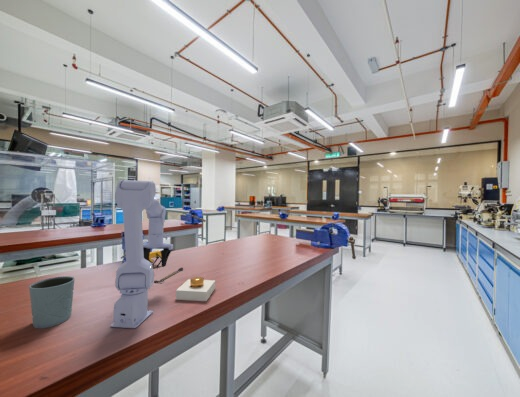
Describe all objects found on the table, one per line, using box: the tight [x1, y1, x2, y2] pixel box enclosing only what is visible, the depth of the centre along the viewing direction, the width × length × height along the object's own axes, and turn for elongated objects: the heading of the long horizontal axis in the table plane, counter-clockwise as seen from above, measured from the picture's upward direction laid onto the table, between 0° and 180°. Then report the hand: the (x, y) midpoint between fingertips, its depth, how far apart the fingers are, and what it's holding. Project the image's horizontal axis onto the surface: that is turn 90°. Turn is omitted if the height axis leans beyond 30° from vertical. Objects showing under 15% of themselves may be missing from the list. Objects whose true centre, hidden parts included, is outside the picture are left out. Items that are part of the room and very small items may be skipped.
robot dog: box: [149, 250, 162, 268], centre depth 119 cm, size 6×18×13 cm, turn 154°
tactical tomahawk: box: [153, 267, 184, 285], centre depth 109 cm, size 21×7×1 cm, turn 166°
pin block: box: [175, 278, 216, 302], centre depth 89 cm, size 12×12×4 cm
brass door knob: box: [189, 276, 205, 288], centre depth 89 cm, size 5×5×6 cm
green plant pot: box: [28, 275, 76, 329], centre depth 67 cm, size 10×10×12 cm
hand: (155, 265), depth 92 cm, fingers open, 7 cm apart
